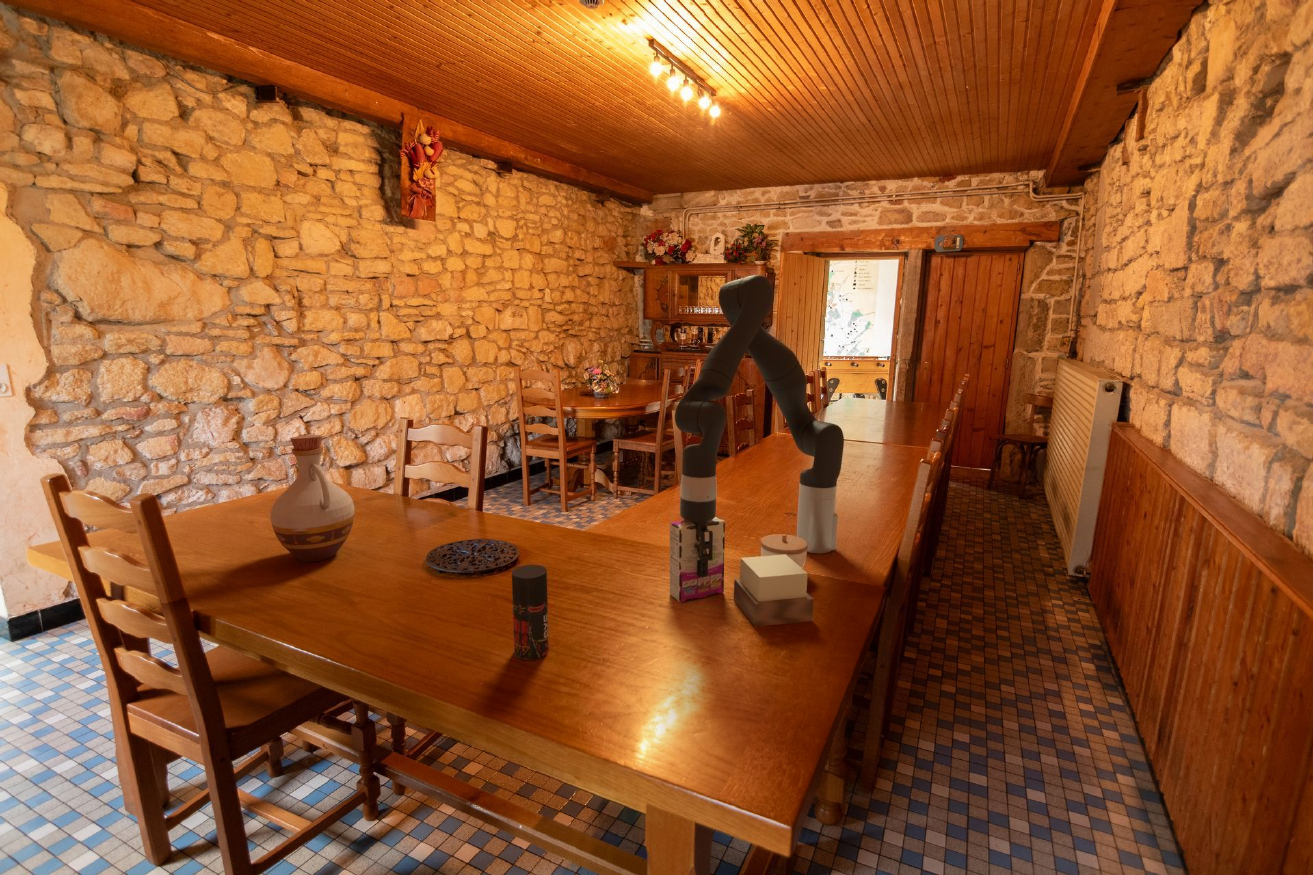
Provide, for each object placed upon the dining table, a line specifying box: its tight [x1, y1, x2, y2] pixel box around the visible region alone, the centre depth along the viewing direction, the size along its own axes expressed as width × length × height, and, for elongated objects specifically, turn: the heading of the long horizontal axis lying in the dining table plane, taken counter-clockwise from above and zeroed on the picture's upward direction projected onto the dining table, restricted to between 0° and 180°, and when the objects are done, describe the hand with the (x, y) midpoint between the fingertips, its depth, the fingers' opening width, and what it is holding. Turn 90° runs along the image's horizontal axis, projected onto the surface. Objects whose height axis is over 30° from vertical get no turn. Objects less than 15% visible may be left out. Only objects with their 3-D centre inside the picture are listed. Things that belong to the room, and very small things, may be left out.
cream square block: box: [739, 554, 809, 602], centre depth 124 cm, size 10×10×5 cm
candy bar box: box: [669, 516, 726, 604], centre depth 130 cm, size 11×5×16 cm, turn 117°
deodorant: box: [511, 564, 550, 662], centre depth 107 cm, size 6×6×15 cm
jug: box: [269, 434, 355, 563], centre depth 147 cm, size 20×18×30 cm
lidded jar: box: [760, 533, 808, 569], centre depth 143 cm, size 11×11×9 cm
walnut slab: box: [733, 578, 814, 628], centre depth 125 cm, size 12×12×5 cm
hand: (696, 568), depth 131 cm, fingers open, 8 cm apart
